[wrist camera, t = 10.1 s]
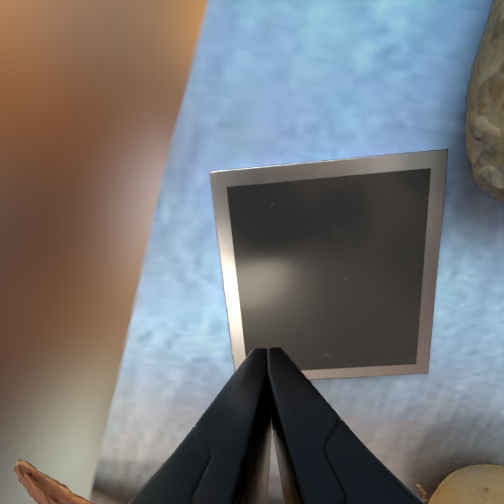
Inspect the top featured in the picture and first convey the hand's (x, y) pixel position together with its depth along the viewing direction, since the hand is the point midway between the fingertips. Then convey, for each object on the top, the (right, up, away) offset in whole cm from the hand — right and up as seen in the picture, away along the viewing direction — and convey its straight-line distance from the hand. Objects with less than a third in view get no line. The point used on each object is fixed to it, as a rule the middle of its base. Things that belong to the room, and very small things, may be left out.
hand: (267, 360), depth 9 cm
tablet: (+3, +2, +6) cm, 7 cm away
